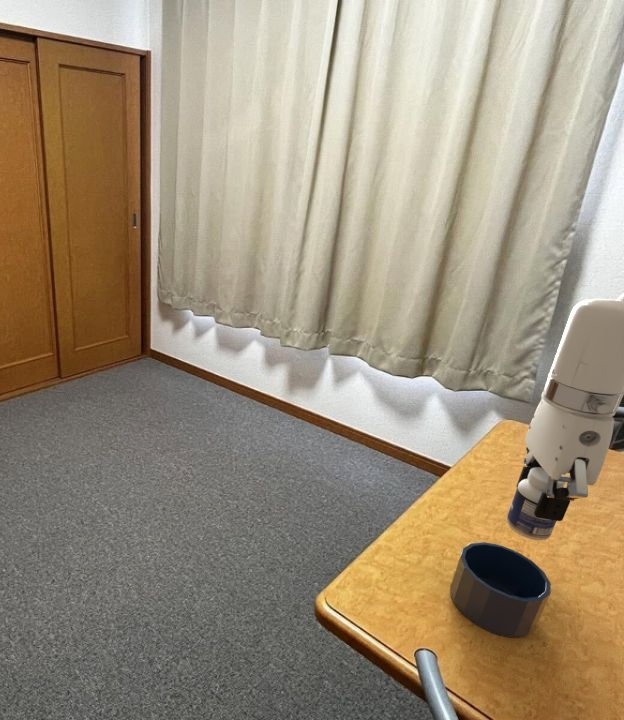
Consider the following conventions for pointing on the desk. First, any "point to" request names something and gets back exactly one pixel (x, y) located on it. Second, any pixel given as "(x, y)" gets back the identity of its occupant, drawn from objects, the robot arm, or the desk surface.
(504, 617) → the bowl
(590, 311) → the robot arm
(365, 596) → the desk surface
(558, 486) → the pill bottle
